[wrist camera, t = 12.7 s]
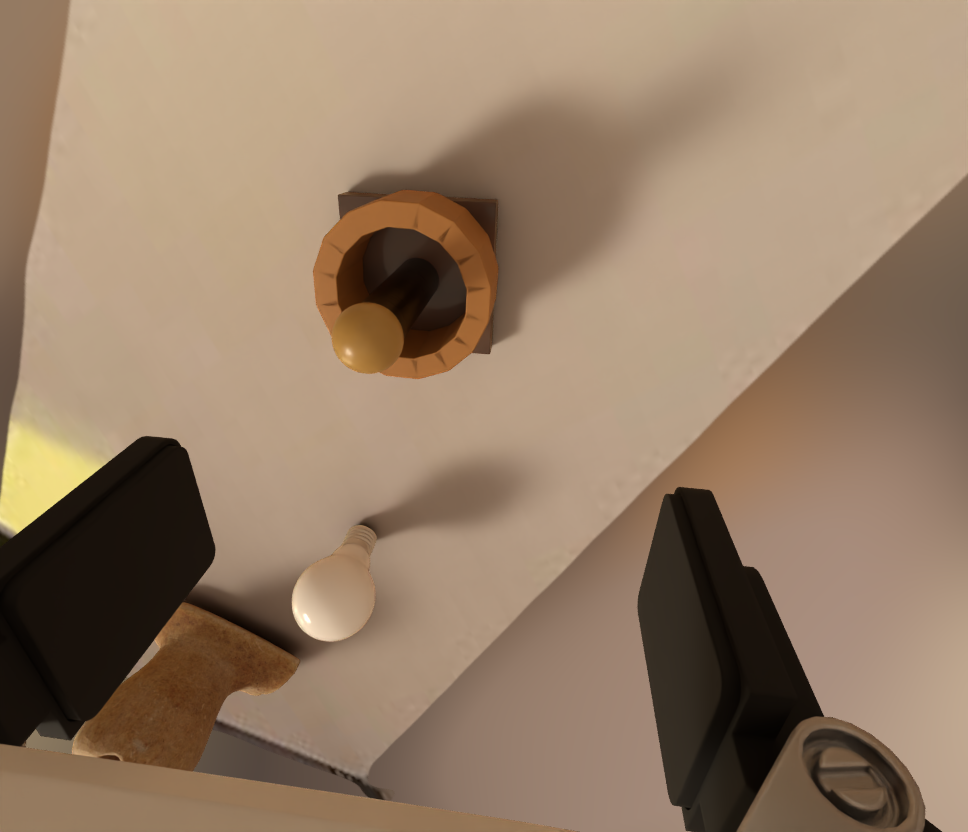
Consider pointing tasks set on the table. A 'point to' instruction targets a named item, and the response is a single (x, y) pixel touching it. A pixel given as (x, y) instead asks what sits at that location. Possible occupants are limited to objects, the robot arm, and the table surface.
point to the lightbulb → (337, 589)
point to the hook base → (405, 244)
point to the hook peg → (384, 318)
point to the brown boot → (183, 691)
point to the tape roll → (444, 224)
